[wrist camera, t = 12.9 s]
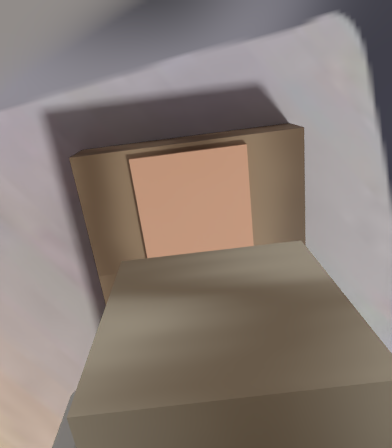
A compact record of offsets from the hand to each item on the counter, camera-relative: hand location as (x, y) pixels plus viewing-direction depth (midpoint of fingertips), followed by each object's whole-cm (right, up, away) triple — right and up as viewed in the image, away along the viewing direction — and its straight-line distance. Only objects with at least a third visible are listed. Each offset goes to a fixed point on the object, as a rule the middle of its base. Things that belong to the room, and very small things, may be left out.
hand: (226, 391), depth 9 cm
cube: (0, +1, +1) cm, 2 cm away
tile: (-1, +5, +13) cm, 14 cm away
